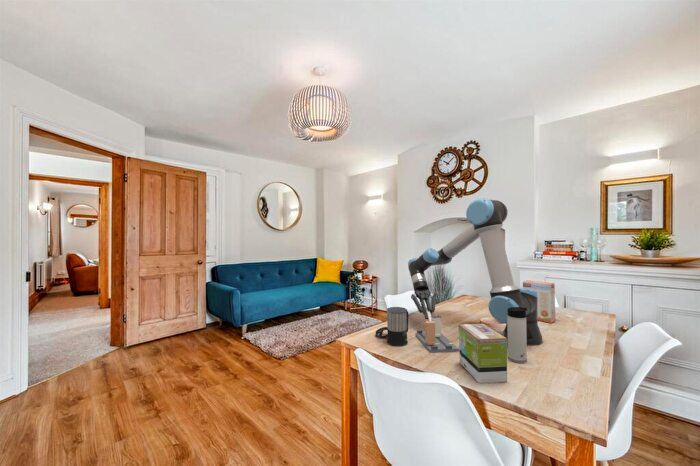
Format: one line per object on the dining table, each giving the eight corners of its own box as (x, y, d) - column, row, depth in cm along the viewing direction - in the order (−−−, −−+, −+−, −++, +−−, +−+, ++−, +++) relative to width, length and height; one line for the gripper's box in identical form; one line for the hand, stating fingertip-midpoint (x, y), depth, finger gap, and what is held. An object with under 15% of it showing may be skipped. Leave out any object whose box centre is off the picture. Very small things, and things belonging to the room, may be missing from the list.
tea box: (458, 363, 109) (457, 323, 109) (484, 362, 109) (484, 322, 109) (478, 384, 93) (477, 337, 94) (508, 382, 94) (508, 336, 94)
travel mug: (527, 365, 106) (527, 310, 106) (507, 361, 110) (506, 308, 110) (527, 358, 111) (527, 306, 112) (508, 355, 115) (507, 304, 115)
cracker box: (555, 321, 157) (555, 283, 157) (550, 323, 154) (550, 284, 154) (527, 315, 169) (527, 279, 169) (522, 317, 165) (522, 280, 165)
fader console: (415, 335, 138) (415, 312, 138) (440, 334, 139) (439, 312, 139) (430, 352, 118) (429, 326, 118) (458, 351, 119) (458, 325, 119)
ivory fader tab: (431, 334, 134) (430, 314, 134) (438, 334, 135) (438, 314, 135) (433, 336, 131) (433, 316, 131) (441, 336, 132) (441, 316, 132)
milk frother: (406, 347, 123) (405, 312, 123) (370, 343, 128) (369, 309, 129) (410, 336, 137) (410, 304, 137) (377, 333, 142) (377, 302, 142)
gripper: (430, 287, 159) (442, 328, 142) (406, 288, 158) (416, 329, 141) (433, 279, 153) (446, 320, 137) (409, 280, 152) (419, 321, 136)
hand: (431, 325), depth 139 cm, fingers closed
